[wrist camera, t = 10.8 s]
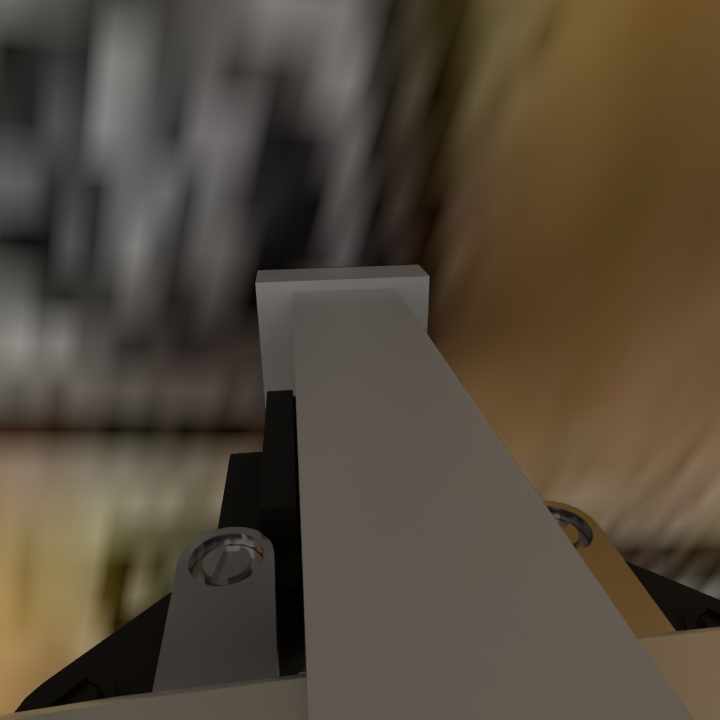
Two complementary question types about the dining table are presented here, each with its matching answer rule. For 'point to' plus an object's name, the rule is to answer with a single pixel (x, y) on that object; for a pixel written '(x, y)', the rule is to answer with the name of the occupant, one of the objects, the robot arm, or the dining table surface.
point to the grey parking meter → (429, 529)
